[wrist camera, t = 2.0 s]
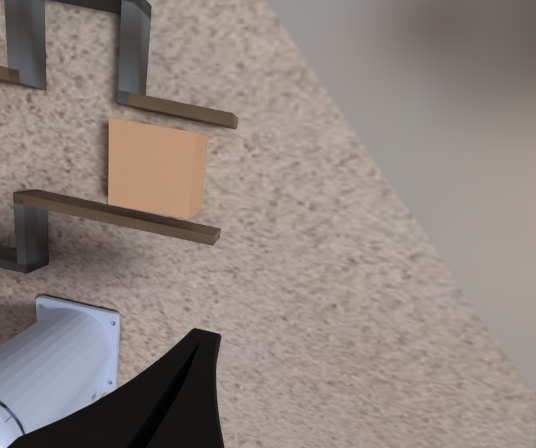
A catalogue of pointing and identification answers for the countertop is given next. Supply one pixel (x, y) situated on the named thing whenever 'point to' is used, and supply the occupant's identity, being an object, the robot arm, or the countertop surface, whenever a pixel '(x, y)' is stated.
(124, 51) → the box
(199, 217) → the countertop surface
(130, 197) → the light orange-tan block
